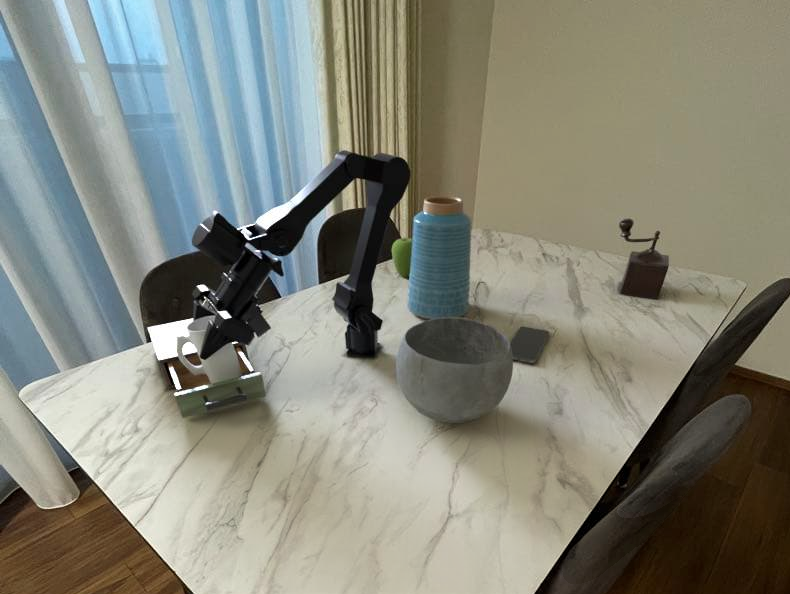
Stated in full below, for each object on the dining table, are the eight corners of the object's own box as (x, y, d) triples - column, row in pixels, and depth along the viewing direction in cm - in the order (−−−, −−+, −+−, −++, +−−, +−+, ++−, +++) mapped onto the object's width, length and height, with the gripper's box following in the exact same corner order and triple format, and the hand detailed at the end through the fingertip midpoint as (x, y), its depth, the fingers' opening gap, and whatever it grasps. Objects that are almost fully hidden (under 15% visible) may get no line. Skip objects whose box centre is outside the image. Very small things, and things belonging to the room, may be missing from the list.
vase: (397, 316, 122) (397, 203, 105) (420, 294, 134) (423, 190, 117) (457, 327, 117) (467, 211, 101) (475, 303, 129) (486, 196, 112)
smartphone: (502, 354, 104) (520, 325, 116) (502, 358, 105) (519, 329, 116) (535, 361, 102) (550, 330, 113) (534, 365, 103) (549, 334, 114)
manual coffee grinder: (658, 286, 140) (681, 222, 129) (658, 300, 132) (682, 232, 121) (603, 279, 145) (621, 216, 133) (600, 291, 137) (618, 225, 125)
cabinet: (251, 369, 101) (244, 341, 96) (168, 389, 94) (158, 360, 90) (231, 338, 112) (225, 312, 108) (156, 354, 105) (147, 327, 101)
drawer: (272, 406, 88) (268, 384, 85) (186, 431, 82) (178, 408, 79) (244, 361, 101) (239, 341, 98) (168, 379, 95) (161, 358, 92)
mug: (243, 368, 96) (223, 312, 88) (246, 383, 91) (225, 325, 83) (192, 381, 94) (167, 325, 86) (193, 397, 89) (166, 339, 81)
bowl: (476, 458, 78) (486, 380, 69) (375, 419, 87) (372, 345, 77) (521, 400, 92) (534, 329, 82) (430, 371, 100) (433, 304, 91)
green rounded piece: (419, 281, 142) (420, 241, 135) (391, 280, 142) (391, 241, 135) (418, 271, 149) (419, 232, 142) (392, 271, 149) (392, 232, 142)
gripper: (298, 322, 85) (250, 392, 87) (262, 289, 97) (221, 351, 99) (246, 287, 76) (195, 365, 78) (214, 256, 88) (170, 324, 90)
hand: (197, 351), depth 87 cm, fingers closed on mug, 6 cm apart
